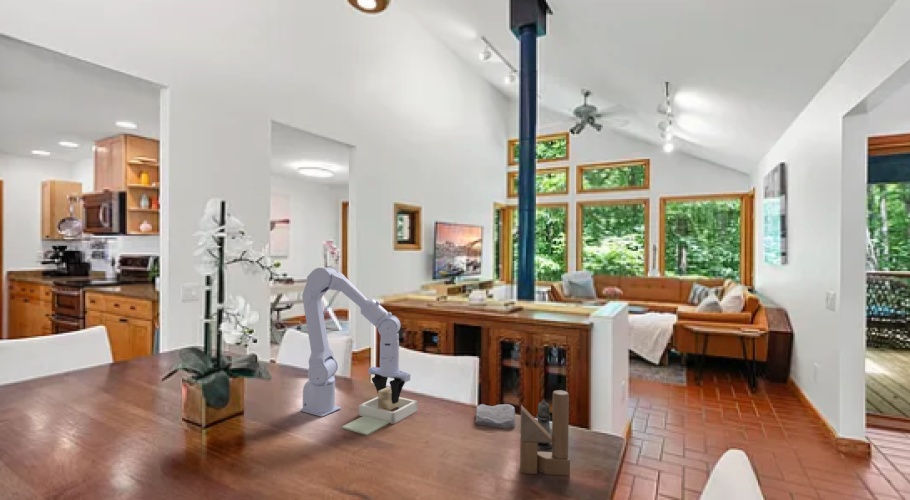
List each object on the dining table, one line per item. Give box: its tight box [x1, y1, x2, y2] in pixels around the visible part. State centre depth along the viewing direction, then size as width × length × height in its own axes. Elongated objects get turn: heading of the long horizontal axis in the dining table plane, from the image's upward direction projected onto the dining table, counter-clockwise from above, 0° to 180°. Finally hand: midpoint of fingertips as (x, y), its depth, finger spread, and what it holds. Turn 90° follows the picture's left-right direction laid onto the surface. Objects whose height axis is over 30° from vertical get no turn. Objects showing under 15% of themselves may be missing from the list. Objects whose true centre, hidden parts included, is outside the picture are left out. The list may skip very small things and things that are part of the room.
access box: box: [358, 396, 418, 425], centre depth 129 cm, size 13×12×3 cm
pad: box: [341, 416, 389, 436], centre depth 119 cm, size 9×9×1 cm
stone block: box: [475, 403, 517, 429], centre depth 124 cm, size 12×5×10 cm
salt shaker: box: [536, 398, 552, 451], centre depth 108 cm, size 6×6×12 cm
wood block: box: [377, 386, 399, 411], centre depth 129 cm, size 4×4×5 cm
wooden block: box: [519, 389, 571, 477], centre depth 96 cm, size 4×11×18 cm, turn 85°
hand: (388, 401), depth 129 cm, fingers closed on wood block, 4 cm apart
